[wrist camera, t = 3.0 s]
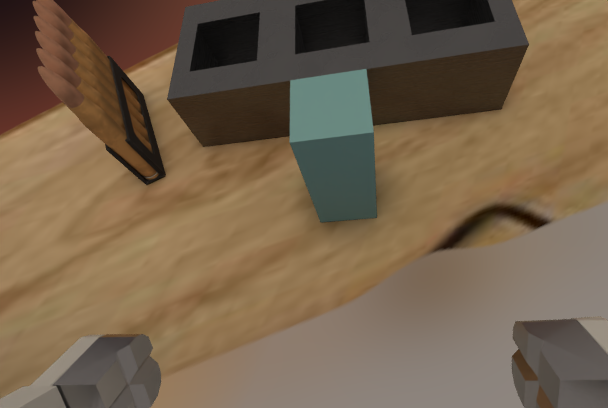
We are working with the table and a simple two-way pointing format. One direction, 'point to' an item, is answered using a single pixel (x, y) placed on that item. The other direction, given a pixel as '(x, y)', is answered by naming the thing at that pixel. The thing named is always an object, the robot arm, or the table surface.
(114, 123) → the ammunition clip
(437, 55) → the block with square holes
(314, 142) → the square peg
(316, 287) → the table surface
